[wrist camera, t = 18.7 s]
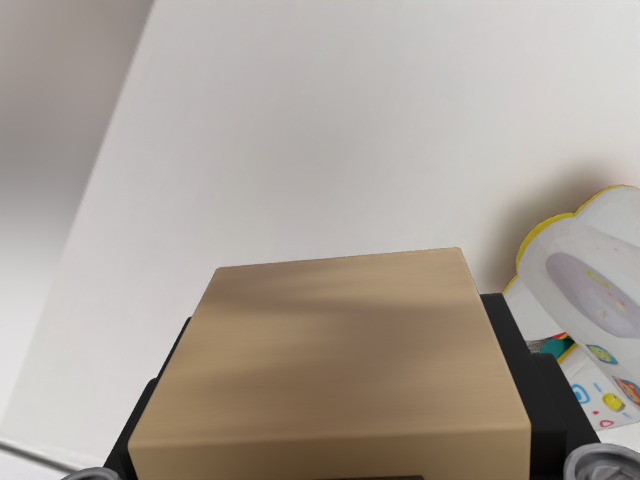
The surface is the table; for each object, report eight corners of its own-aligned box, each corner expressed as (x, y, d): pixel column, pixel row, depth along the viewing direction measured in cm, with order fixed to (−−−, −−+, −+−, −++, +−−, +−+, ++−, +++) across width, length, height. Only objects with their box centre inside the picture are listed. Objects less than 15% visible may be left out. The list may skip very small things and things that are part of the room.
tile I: (256, 448, 14) (200, 702, 9) (215, 266, 12) (112, 463, 7) (465, 438, 13) (529, 703, 8) (461, 245, 11) (541, 443, 6)
